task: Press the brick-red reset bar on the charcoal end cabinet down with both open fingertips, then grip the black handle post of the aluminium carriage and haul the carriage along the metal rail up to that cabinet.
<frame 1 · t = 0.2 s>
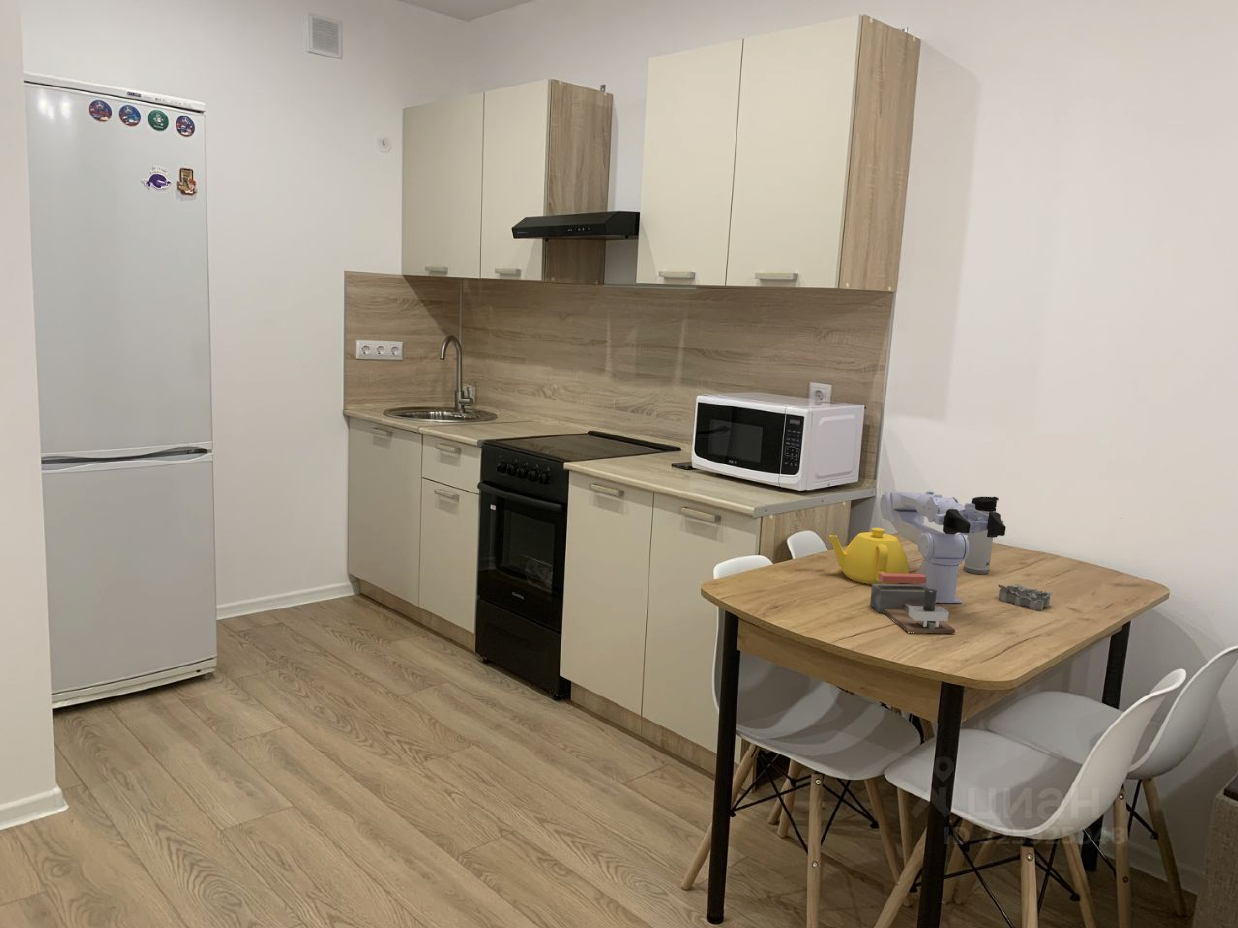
hand: (986, 529, 199), 21 cm above the table, tool horizontal, fingers open, 7 cm apart
travel mug: (976, 572, 248), on the table
egg carton: (1023, 604, 222), on the table
reset bar: (902, 578, 211), point 7 cm above the table, slide at 0.0 cm
carriage: (929, 607, 197), point 5 cm above the table, slide at 9.0 cm
teapot: (867, 579, 236), on the table
rail stand: (912, 619, 205), on the table
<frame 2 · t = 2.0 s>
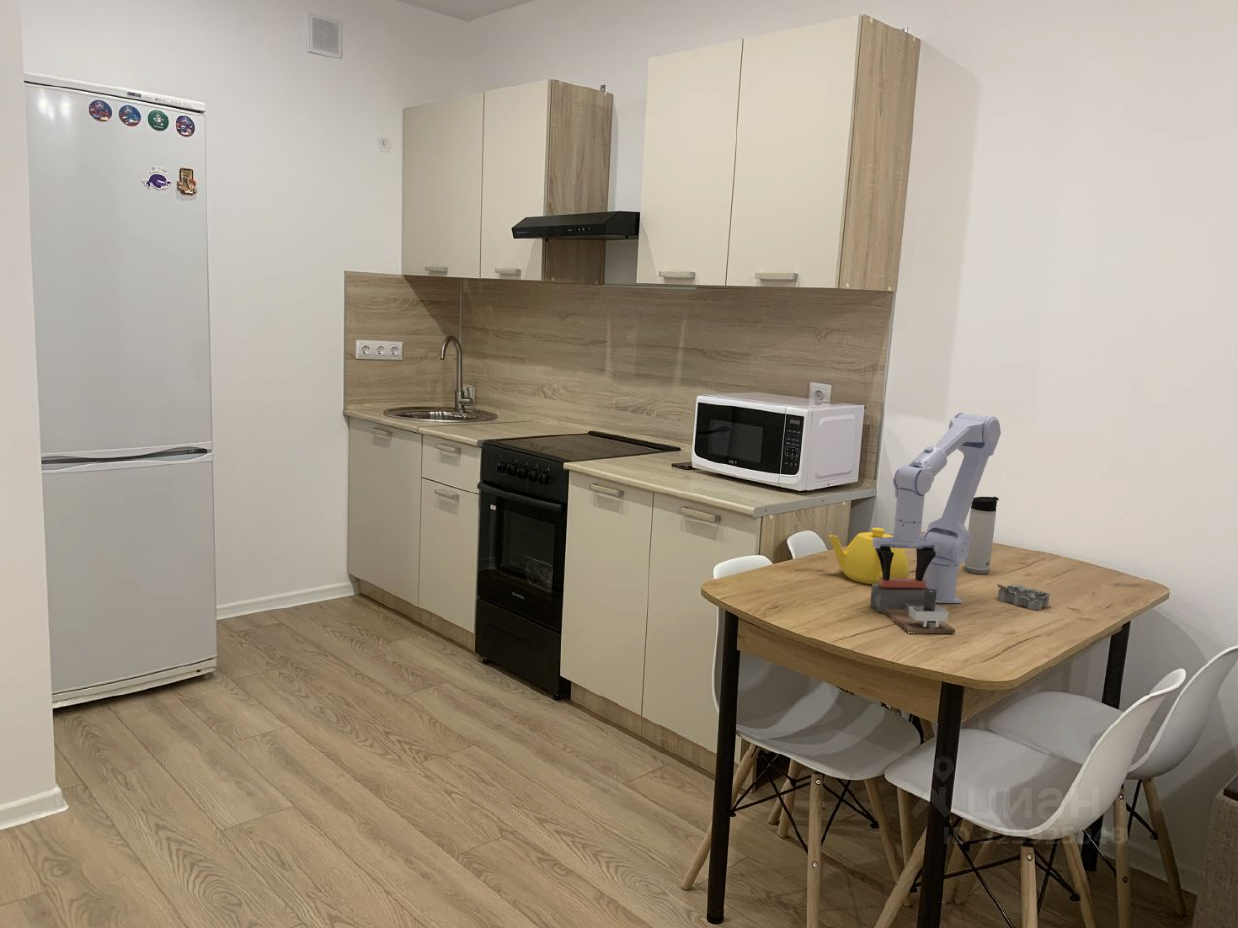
hand: (902, 579, 211), 7 cm above the table, tool pointing down
reset bar: (902, 582, 211), point 6 cm above the table, slide at -1.1 cm, touching gripper
everything else where it was.
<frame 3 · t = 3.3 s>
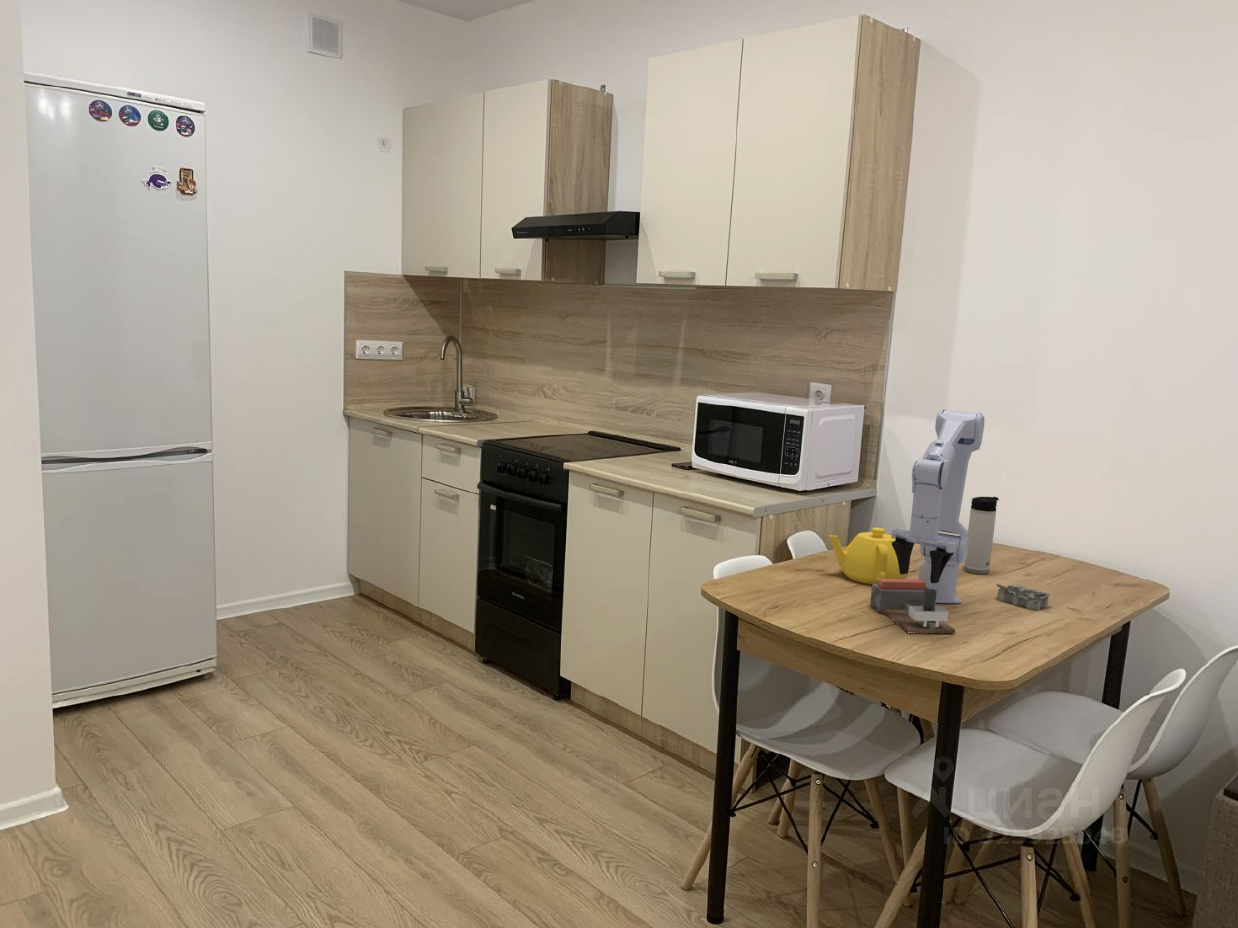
hand: (918, 578, 202), 10 cm above the table, tool pointing down, fingers open, 7 cm apart
reset bar: (902, 583, 211), point 6 cm above the table, slide at -1.3 cm
everything else where it was.
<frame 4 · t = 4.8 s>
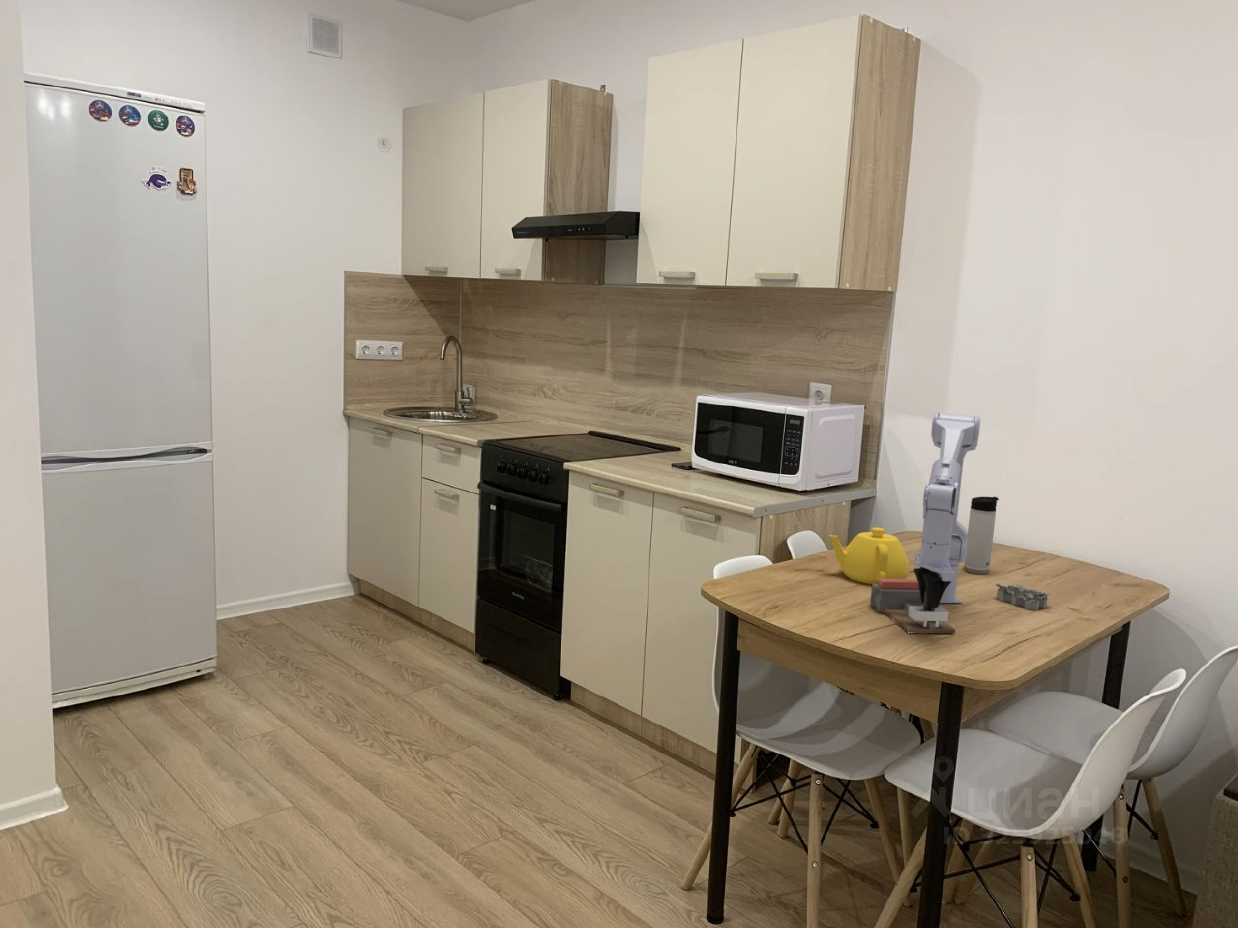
hand: (929, 605, 197), 5 cm above the table, tool pointing down, fingers closed on carriage, 2 cm apart
carriage: (929, 607, 197), point 5 cm above the table, slide at 9.0 cm, touching gripper
everything else where it was.
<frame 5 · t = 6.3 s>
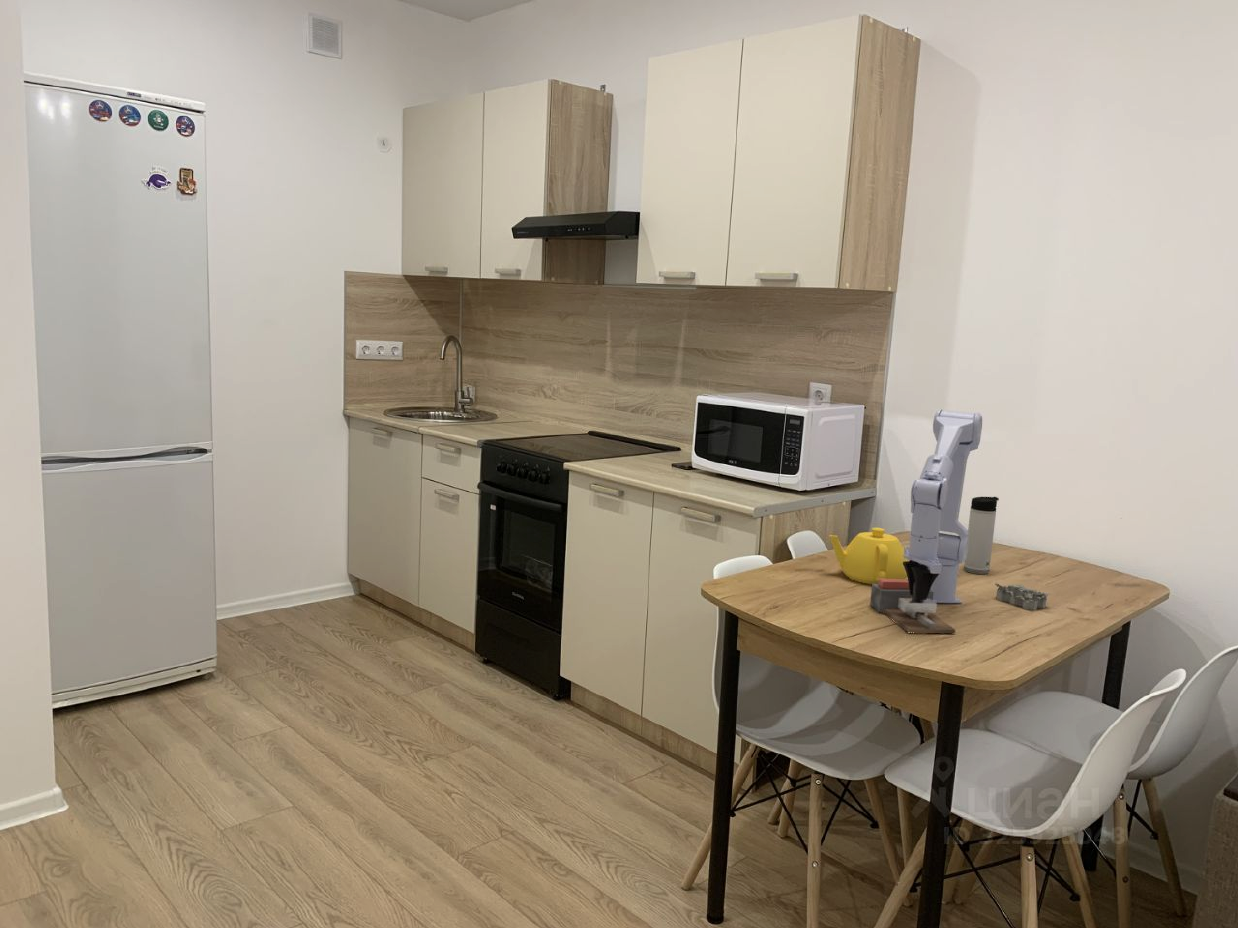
hand: (918, 597, 202), 5 cm above the table, tool pointing down, fingers closed on carriage, 2 cm apart
carriage: (917, 599, 202), point 5 cm above the table, slide at 3.4 cm, touching gripper
everything else where it was.
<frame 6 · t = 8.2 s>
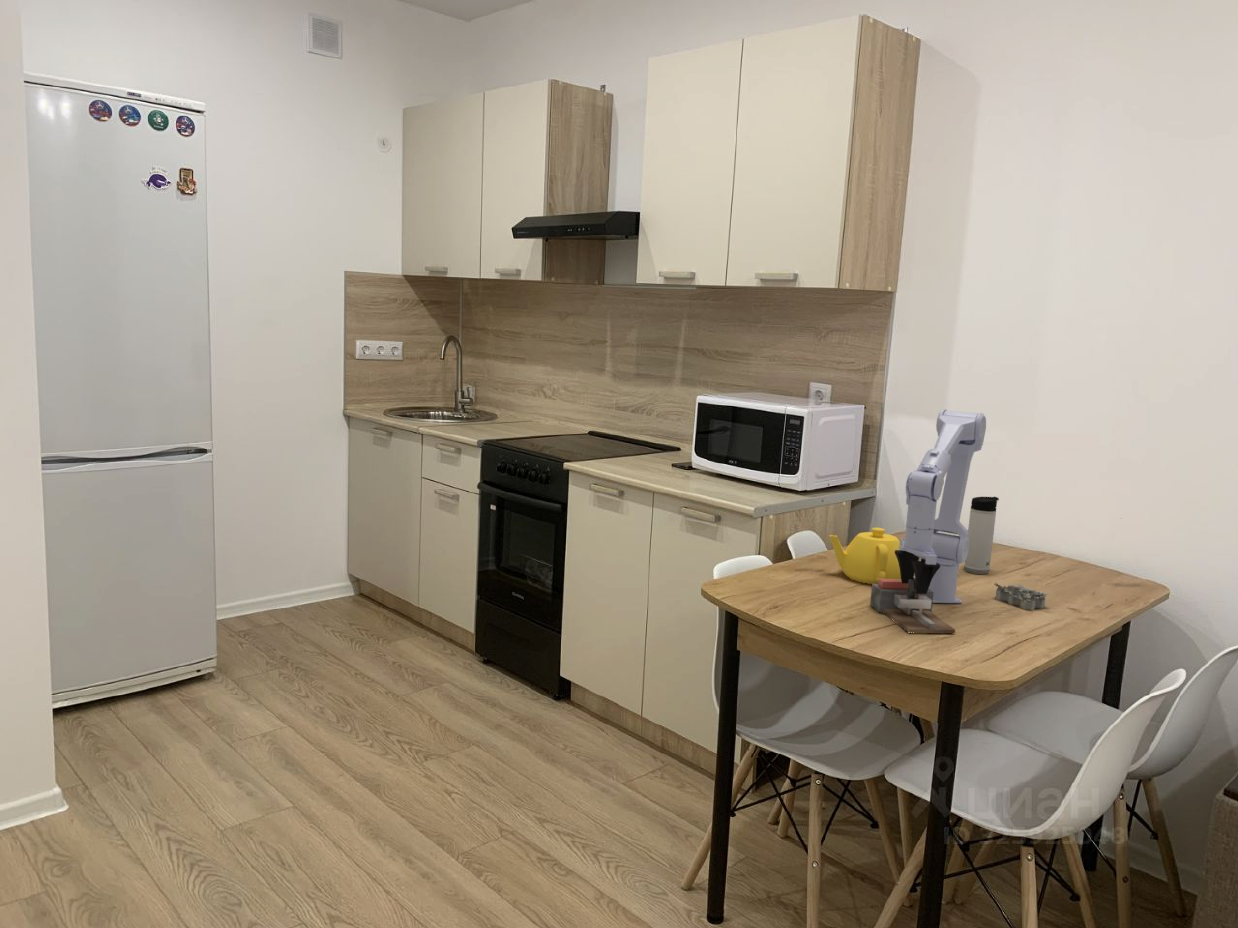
hand: (913, 588, 205), 7 cm above the table, tool pointing down, fingers open, 7 cm apart
carriage: (912, 595, 205), point 5 cm above the table, slide at 0.8 cm
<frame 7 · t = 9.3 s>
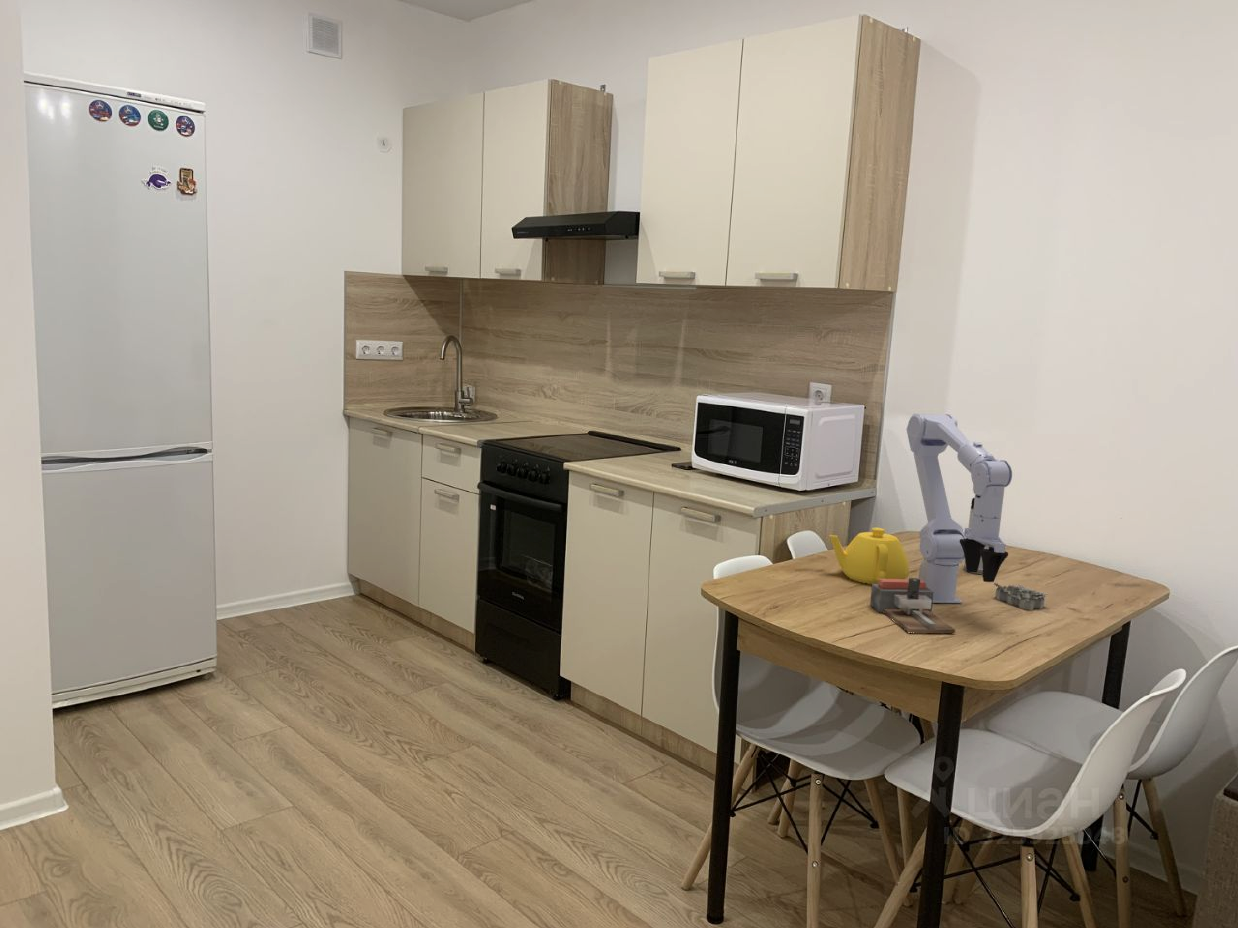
hand: (979, 576, 206), 9 cm above the table, tool pointing down, fingers open, 7 cm apart
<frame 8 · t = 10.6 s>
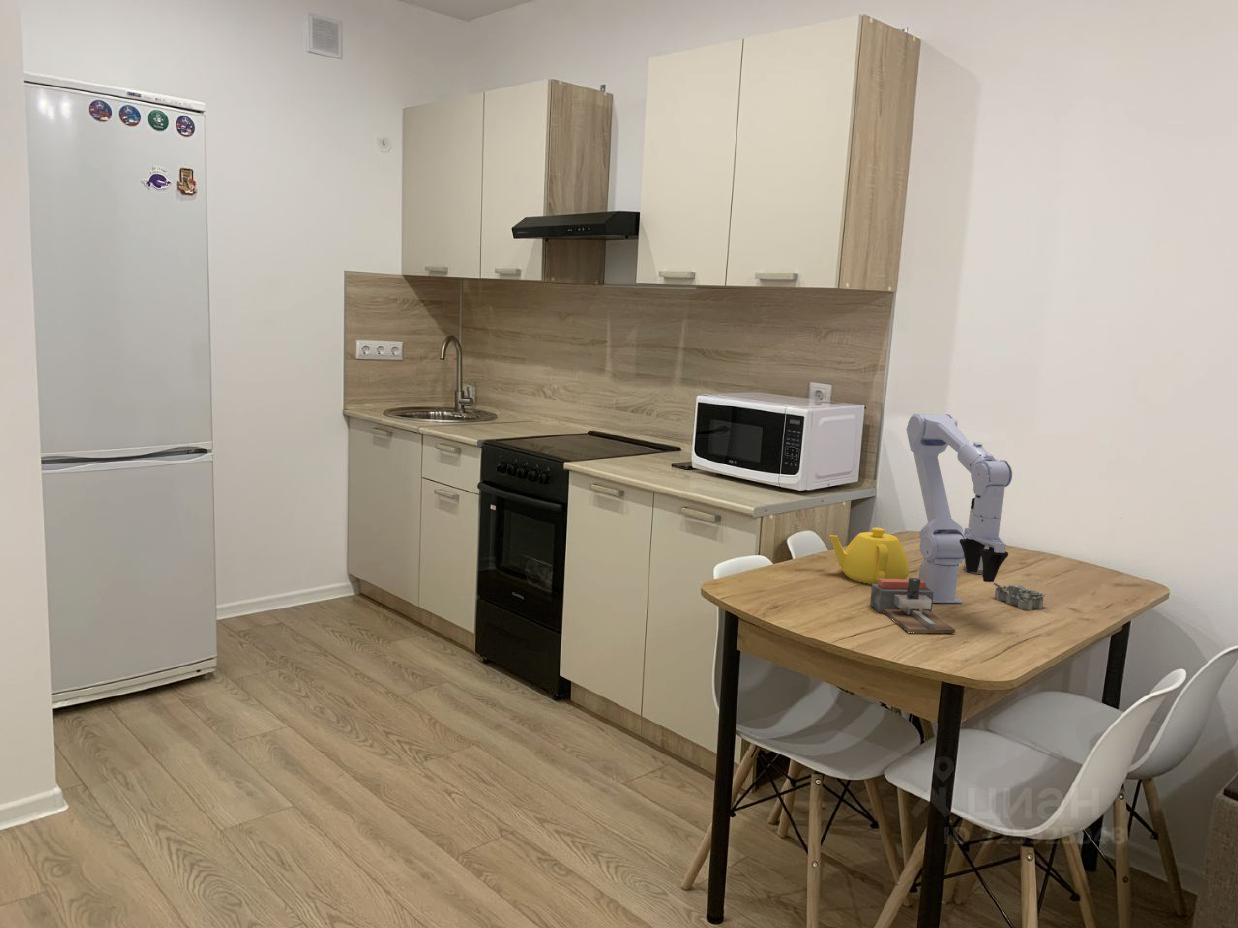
hand: (979, 576, 206), 9 cm above the table, tool pointing down, fingers open, 7 cm apart
at the end: carriage slide at 0.8 cm; reset bar slide at -1.3 cm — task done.
